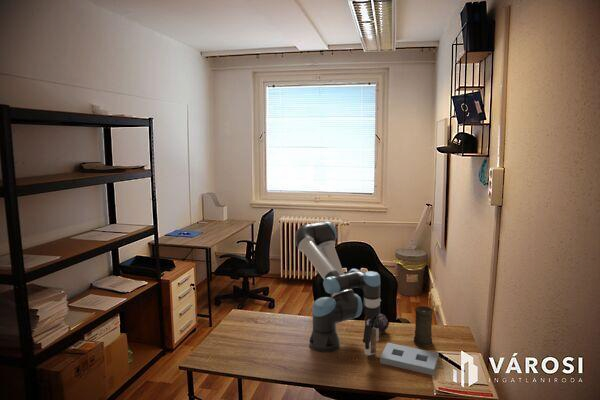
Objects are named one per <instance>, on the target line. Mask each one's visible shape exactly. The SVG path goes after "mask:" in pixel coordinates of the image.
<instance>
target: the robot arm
mask: <svg viewBox="0 0 600 400" xmlns="http://www.w3.org/2000/svg"><path fill="white" fill-rule="evenodd" d="M337 234H338V233H337V229H336V227H335V225H334V224H333V223H332V222H330V221H320V222H313V223H307V224H306V223H305V224H302V225H301V226H299V227H298V228H297V230H296V232H295V235H294V243H295V245H296V247H297V249H298V250H299V252H301V253H303V254H304V255H305V257H307V259H308V261H309V262H310V263H311V264H312V265H313V267H314V269H315V270H316V272H318V274H319V275H320V276H321V278H322V279H323V281H322V286H323V288H324V291H325V293H327V294H332V296H322V297H318V298H317V299H316V300H314V301H313V304H312V309H311V314H312V315H311V316H312V318H311V319H312V330H311V334H310V337H309V347H310V348H311V349H313V350H314V351H316V352H320V353H328V352H329V353H330V352H333V351H336V350H337V349H338V348H340V338H339V334H338V332H337V324H338V323H343V322H345V321H348V320H354V319H355V318H358V317H360V316H361V315H362V312H363V313H364V315H366V316H367V317H366V319H365V321H364V330H363V331H364V332H363V339H362V343H364V355H366V356H367V355H371V342H370V339H371V333H372V328H374V329H376V342H379V340H380V337H379V336H380V335H379V328H380V327H381V326H380V320H379V314H380V313H381V306H380V305H381V302H382V299H381V275H380V274H379V273H378V272H377V271H373V270H372V271H371V270H369V271H366V272H364V271H362V270H360V269H357V268H351V269H350V270H349V271H347V273H344V269H343V267H342V264H341V261H340V259H339V256H338V253H337V250H336V248H335V245H336V240H337V237H338V235H337ZM355 288H359V289H361V290H362V291H363V302H362V298H361V296H359V294H357V293H355V292H354V290H353V289H355ZM371 325H372V326H371Z"/></svg>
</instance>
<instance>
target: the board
mask: <svg viewBox="0 0 600 400" xmlns="http://www.w3.org/2000/svg"><path fill="white" fill-rule="evenodd" d="M379 358H380V359H379V361H380V362H379V364H382V365H387V366H392V367H396V368H401V369H404V370H408V371H413V372H417V373H421V374H426V375H430V376H435V373H436V369H437V366H436V365H438V362H437V361H439V352H434V351H430V350H425V349H420V348H415V347H411V346H407V345H401V344H396V343H390V342H387V343H386V345H385V347H384V349H383V351H382V353H381V354H380V357H379Z"/></svg>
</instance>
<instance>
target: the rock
mask: <svg viewBox="0 0 600 400" xmlns="http://www.w3.org/2000/svg"><path fill="white" fill-rule="evenodd" d="M379 320H380V326H381V327H380V328H379V336H381V335H382V334H383V333H385V332H386V331H387V329H388V328H389V325H390V322H389V320H388V318H387V316H386V315H385V314H383V313H381V312H380V314H379ZM371 326H372V325H371Z"/></svg>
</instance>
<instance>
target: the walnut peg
mask: <svg viewBox="0 0 600 400" xmlns="http://www.w3.org/2000/svg"><path fill="white" fill-rule="evenodd" d="M370 342H371V355H366V358H367V359H368V360H372V361H373V360H376V357H377V341H376V329H374V328H372V333H371V339H370Z"/></svg>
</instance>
